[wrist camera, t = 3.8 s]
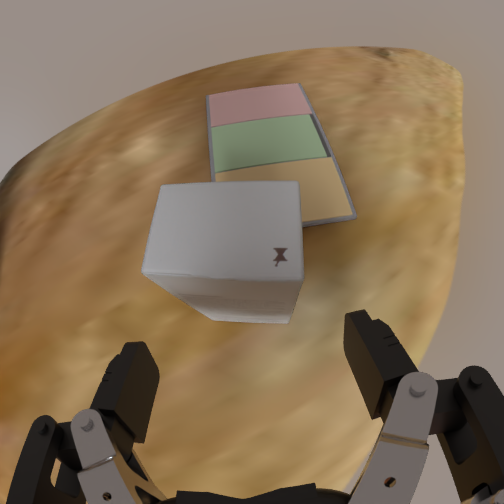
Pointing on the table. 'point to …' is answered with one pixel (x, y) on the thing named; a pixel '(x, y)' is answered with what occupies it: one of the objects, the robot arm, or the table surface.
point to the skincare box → (229, 248)
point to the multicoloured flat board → (277, 147)
